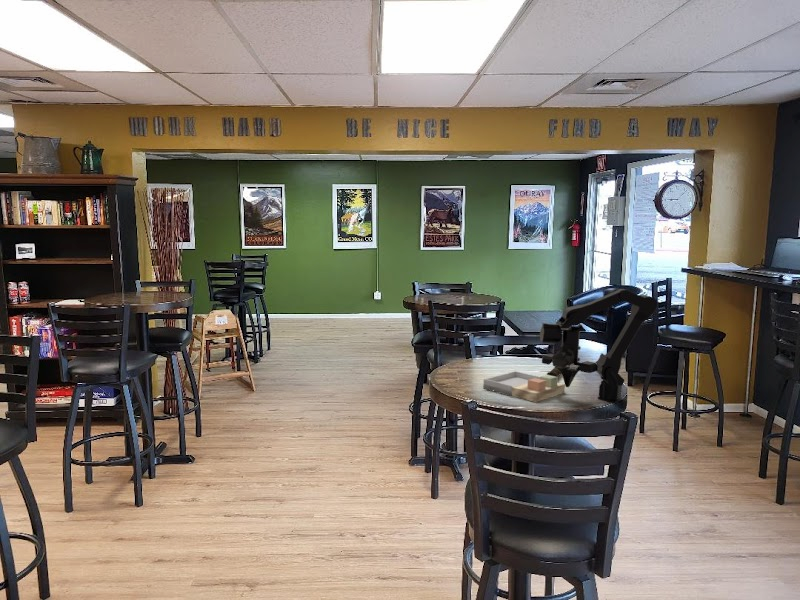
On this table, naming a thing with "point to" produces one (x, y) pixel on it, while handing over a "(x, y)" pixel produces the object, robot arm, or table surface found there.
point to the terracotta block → (536, 384)
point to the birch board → (537, 392)
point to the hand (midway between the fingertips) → (567, 387)
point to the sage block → (550, 380)
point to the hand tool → (554, 372)
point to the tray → (507, 381)
